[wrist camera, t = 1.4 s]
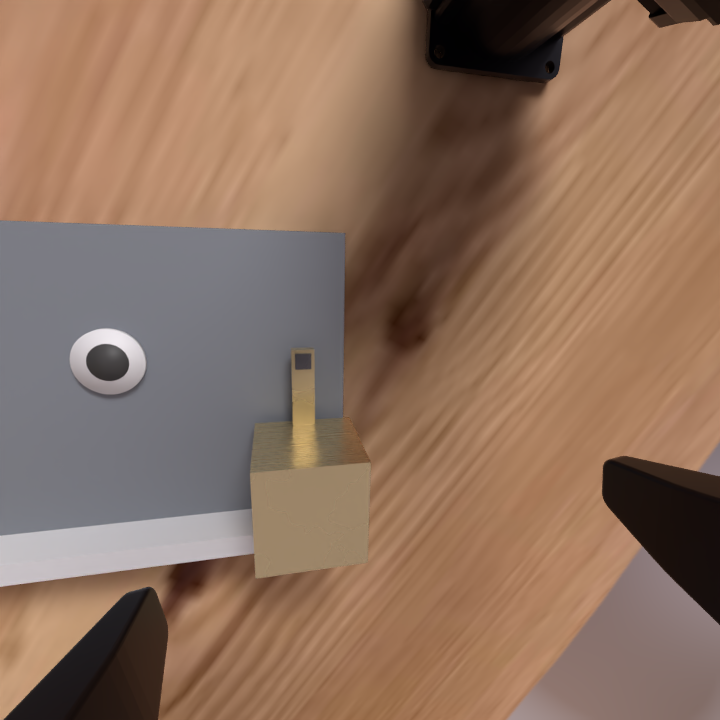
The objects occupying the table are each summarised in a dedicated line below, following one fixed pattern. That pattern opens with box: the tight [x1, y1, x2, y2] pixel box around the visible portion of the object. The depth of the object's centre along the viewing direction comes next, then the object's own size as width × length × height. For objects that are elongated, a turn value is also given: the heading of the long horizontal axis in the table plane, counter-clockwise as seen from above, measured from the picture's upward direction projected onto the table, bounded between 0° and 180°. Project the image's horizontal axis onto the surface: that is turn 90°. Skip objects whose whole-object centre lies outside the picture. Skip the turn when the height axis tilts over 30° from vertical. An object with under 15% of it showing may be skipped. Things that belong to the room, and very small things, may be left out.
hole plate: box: [0, 221, 345, 587], centre depth 15 cm, size 23×15×6 cm, turn 89°
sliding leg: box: [250, 347, 371, 579], centre depth 17 cm, size 4×8×4 cm, turn 179°
